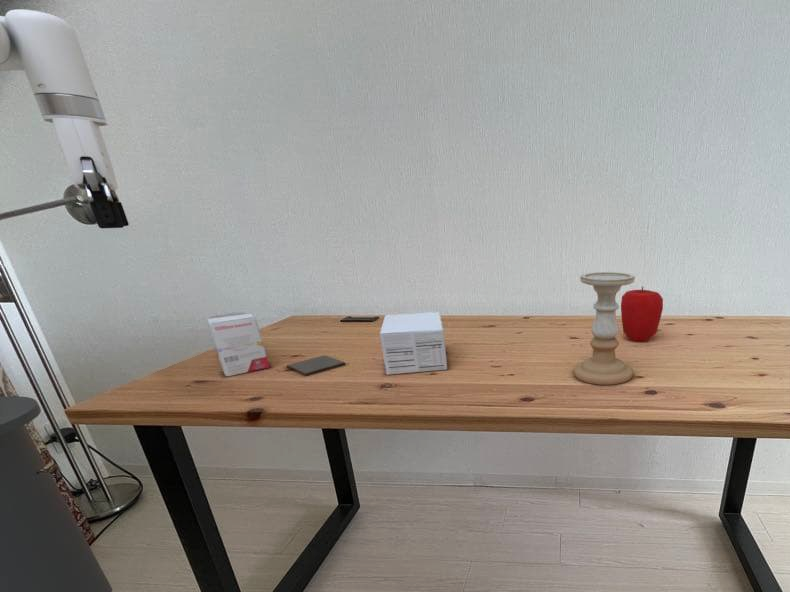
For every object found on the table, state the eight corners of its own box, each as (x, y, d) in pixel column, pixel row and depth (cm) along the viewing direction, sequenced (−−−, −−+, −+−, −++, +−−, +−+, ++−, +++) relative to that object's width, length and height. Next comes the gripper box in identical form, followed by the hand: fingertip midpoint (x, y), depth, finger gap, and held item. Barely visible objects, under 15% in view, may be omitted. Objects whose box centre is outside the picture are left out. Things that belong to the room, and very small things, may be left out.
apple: (667, 340, 118) (673, 287, 112) (637, 346, 113) (641, 291, 107) (640, 331, 126) (644, 281, 120) (610, 337, 121) (613, 285, 116)
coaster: (306, 375, 97) (305, 373, 97) (286, 367, 102) (286, 365, 102) (345, 364, 103) (344, 362, 103) (325, 357, 109) (324, 355, 108)
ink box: (266, 363, 105) (252, 312, 101) (270, 368, 102) (256, 316, 97) (222, 371, 101) (205, 318, 96) (224, 377, 97) (207, 322, 92)
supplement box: (390, 352, 112) (384, 314, 108) (444, 348, 114) (440, 311, 110) (385, 375, 97) (378, 332, 93) (448, 369, 99) (443, 327, 95)
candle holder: (574, 385, 90) (576, 281, 82) (572, 365, 101) (574, 271, 93) (637, 385, 89) (645, 280, 81) (628, 365, 101) (635, 271, 92)
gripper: (51, 118, 77) (93, 226, 84) (26, 100, 64) (78, 229, 71) (109, 121, 81) (145, 224, 88) (96, 105, 68) (139, 227, 75)
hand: (115, 227), depth 80 cm, fingers open, 9 cm apart
